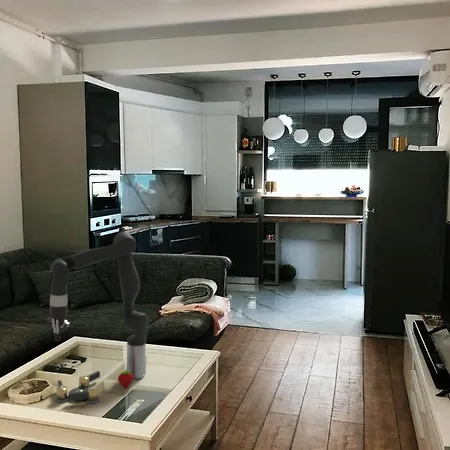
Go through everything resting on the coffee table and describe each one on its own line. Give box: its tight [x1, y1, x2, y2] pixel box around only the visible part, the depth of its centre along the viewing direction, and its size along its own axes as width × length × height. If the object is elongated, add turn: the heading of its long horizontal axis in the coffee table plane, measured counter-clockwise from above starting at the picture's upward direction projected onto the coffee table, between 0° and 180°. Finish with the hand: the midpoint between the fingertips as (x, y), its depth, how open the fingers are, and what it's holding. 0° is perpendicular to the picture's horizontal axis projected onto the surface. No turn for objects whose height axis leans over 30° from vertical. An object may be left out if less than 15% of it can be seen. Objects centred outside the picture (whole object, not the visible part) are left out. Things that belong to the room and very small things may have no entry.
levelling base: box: [55, 385, 100, 405], centre depth 227 cm, size 20×18×3 cm
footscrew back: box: [78, 370, 101, 388], centre depth 239 cm, size 12×5×5 cm, turn 152°
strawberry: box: [117, 369, 134, 389], centre depth 238 cm, size 6×8×10 cm
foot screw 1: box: [56, 379, 68, 400], centre depth 227 cm, size 12×5×5 cm, turn 25°
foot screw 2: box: [69, 386, 99, 401], centre depth 223 cm, size 12×5×5 cm, turn 113°
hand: (57, 340), depth 227 cm, fingers closed
